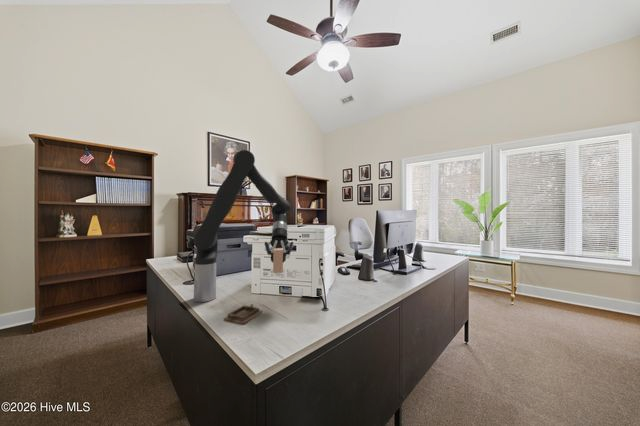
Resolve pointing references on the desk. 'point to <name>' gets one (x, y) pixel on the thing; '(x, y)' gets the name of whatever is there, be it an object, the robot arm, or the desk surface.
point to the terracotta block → (278, 260)
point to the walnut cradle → (243, 314)
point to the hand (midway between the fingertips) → (278, 261)
